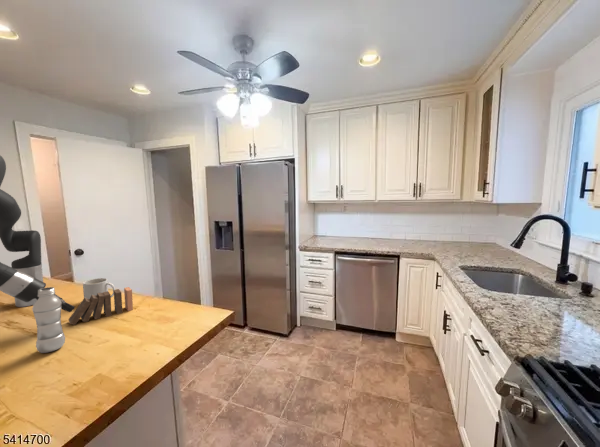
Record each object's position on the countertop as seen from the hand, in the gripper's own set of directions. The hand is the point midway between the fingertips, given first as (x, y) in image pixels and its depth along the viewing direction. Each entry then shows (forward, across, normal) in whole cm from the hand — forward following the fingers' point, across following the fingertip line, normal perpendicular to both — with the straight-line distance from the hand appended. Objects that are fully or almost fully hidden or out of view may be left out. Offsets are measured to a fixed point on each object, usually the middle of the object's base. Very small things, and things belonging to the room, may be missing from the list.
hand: (72, 309), depth 98 cm
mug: (+11, +18, -3) cm, 22 cm away
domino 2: (+6, 0, +1) cm, 6 cm away
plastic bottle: (-1, -18, +9) cm, 20 cm away
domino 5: (+14, 0, -6) cm, 16 cm away
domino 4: (+12, 0, -4) cm, 12 cm away
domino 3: (+9, 0, -1) cm, 9 cm away
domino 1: (+3, 0, +4) cm, 5 cm away
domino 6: (+17, 0, -9) cm, 19 cm away
